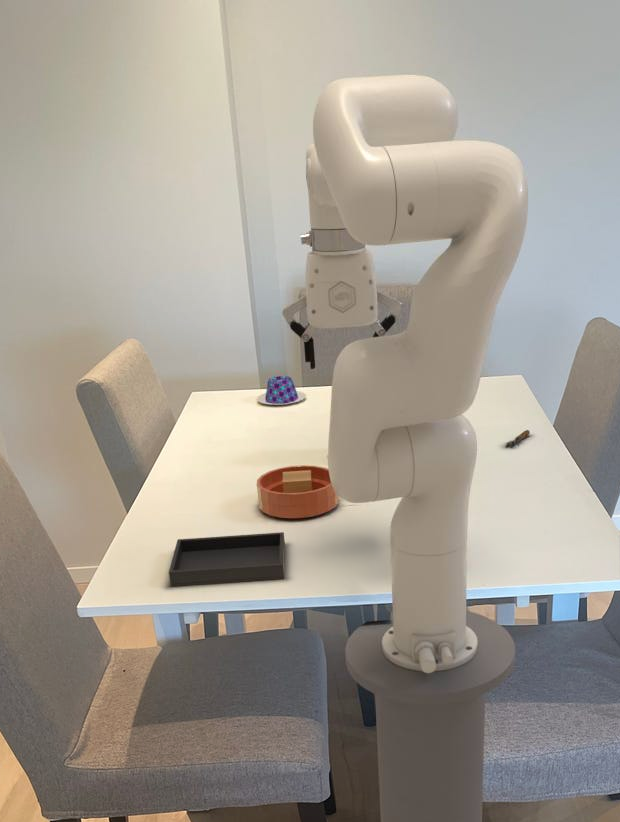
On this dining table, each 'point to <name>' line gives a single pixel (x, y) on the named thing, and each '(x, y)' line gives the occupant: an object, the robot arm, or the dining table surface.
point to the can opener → (519, 438)
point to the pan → (228, 559)
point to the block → (297, 481)
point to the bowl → (296, 494)
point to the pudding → (281, 392)
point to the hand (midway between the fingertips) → (345, 364)
